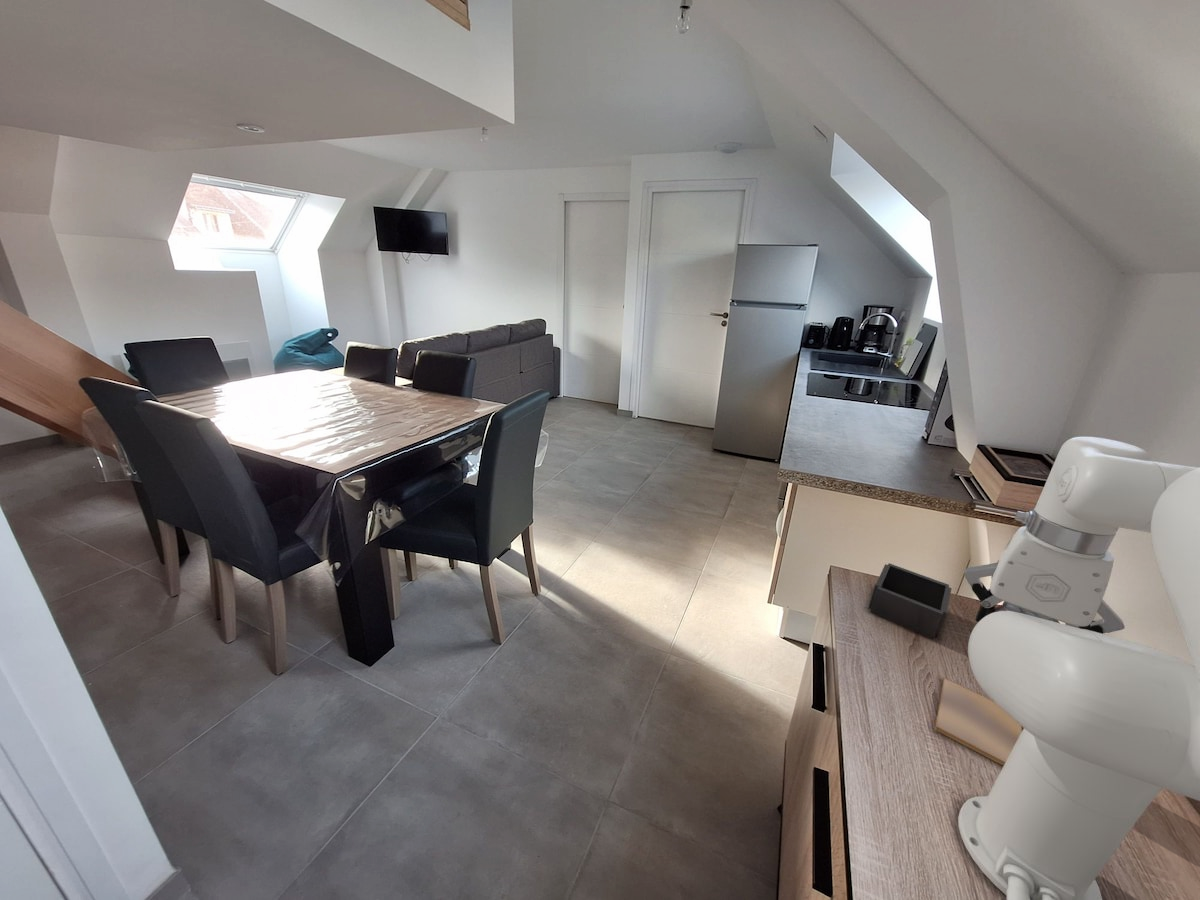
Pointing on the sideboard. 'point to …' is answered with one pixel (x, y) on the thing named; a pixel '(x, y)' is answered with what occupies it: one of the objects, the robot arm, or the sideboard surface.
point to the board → (976, 722)
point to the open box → (911, 600)
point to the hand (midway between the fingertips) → (1017, 640)
